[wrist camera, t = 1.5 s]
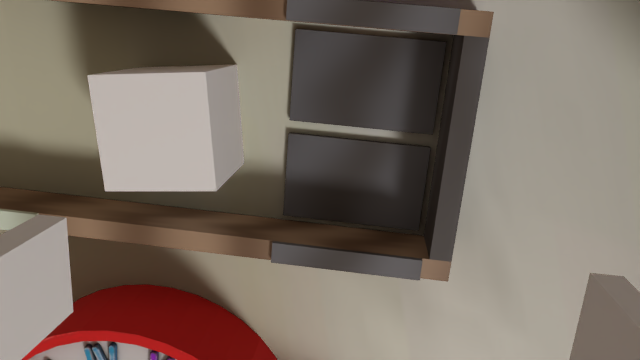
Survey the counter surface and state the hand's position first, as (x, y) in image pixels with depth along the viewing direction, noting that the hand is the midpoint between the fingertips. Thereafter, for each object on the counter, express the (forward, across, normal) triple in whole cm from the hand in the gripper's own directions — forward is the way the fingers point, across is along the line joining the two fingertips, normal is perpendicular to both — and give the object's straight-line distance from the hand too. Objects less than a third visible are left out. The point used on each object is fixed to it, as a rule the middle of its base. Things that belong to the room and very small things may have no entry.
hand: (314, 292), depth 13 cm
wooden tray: (+19, -12, +1) cm, 22 cm away
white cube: (+19, -10, +1) cm, 21 cm away
